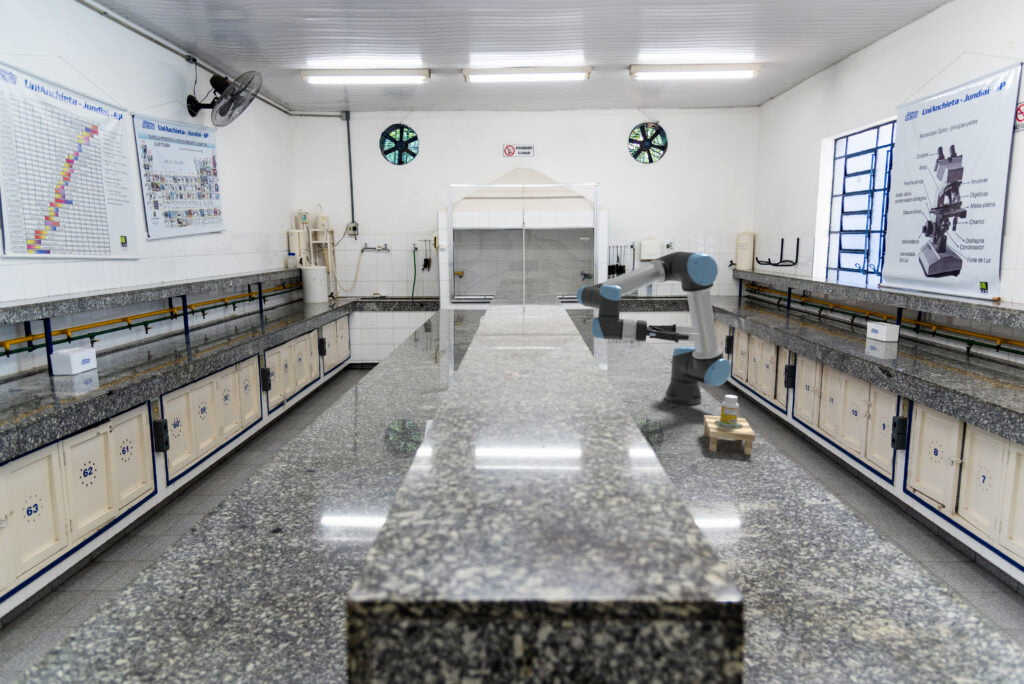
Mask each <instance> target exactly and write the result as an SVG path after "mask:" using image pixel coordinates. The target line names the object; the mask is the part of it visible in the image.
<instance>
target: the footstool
mask: <svg viewBox="0 0 1024 684" xmlns="http://www.w3.org/2000/svg"><path fill="white" fill-rule="evenodd" d="M720 419H721V415H710V414H709V415H708V414H707V415H706V414H703V423H704V426H703V427H704V429H703V436H704V437H707V438H709V446H708V451H709V452H717V445H718V438H719V439H729V440H738V441H744V444H743V445H744V446H743V453H744V455H745V454H746V455H747V456H752V450H753V443H754V442H756V434H755V432H754V431H753V429H752V427H751V426H750V424H749V422H748V421H747V419H746V418H741V417H738V419H737V425H736V426H726V425H723V424H721V423H720Z"/></svg>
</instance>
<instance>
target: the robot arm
mask: <svg viewBox="0 0 1024 684" xmlns="http://www.w3.org/2000/svg"><path fill="white" fill-rule="evenodd" d="M718 271H719V267H718V263H717V261H716V260H715V258H713V256H711V255H710V254H708V253H707V254H706V253H702V252H687V251H676V252H675V251H674V252H671V253H668V254H665V255H663V256H660V257H658V258H657V257H656V258H655V259H652V260H650V262H649V263H648V264H646V265H644V266H641V267H639V268H636V269H634V270H630V271H628V272H626V273H624V274H620V275H618V276H616V277H612V278H610V279H607V280H604V281H602V282H599V283H596V284H594V285H591V286H590V285H584V286H581V287H580V288H579V289H578V290H577V292H576V300H577V302H578V303H579V304H580V305H582V306H585V307H589V308H592V309H595V310H596V309H597V310H598V315H597V316H596V317H593V318H592V325H591V326H592V327H591V335H592V337H593V338H594V339H596V338H597V339H603V340H619V341H622V340H623V341H624V342H626V343H628V342H629V341H635V342H646V341H647V337H649V339H657V340H664V341H671V342H675V343H679V342H681V341H682V342H693V343H694V346H676V347H675V348H674V349H673V351H672V356H671V357H672V359H671V371H670V373H671V374H670V381H669V383H668V386H667V388H666V390H665V393H664V399H665V400H666V401H668V402H671V403H675V404H678V405H689V406H690V405H691V406H692V405H693V406H694V405H700V404H701V403H702V401H703V398H702V397H703V396H702V391H701V387H700V383H702V384H705V385H707V386H712V387H719V386H722V385H723V384H724V383H726V381H727V380H728V378H729V377H730V375H731V372H732V366H731V363H730V361H729V360H728V359H727V358H724V352H723V349H722V348H721V347H719V346H718V340H717V339H718V337H717V331H716V325H715V319H714V318H715V317H714V316H715V315H714V311H713V310H714V309H713V303H712V295H711V290H712V288H713V287H714V282H715V281H716V280H717V276H718V274H719V273H718ZM669 281H670V282H671V281H672V282H680V285H681V290H682V292H684V293H685V294H686V297H687V303H688V309H689V315H690V321H691V327H689V326H677V324H675V323H673V324H672V325H664V324H663V325H652V324H649V325H648V321H647V320H644V319H643V320H642V319H641V320H639V319H638V320H635V319H627V318H620V311H621V299H622V296H623V295H626V294H630V293H632V292H634V291H637V290H640V289H642V288H645V287H648V286H650V285H652V284H655V283H657V284H662V283H664V282H669Z"/></svg>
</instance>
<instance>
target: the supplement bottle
mask: <svg viewBox="0 0 1024 684" xmlns="http://www.w3.org/2000/svg"><path fill="white" fill-rule="evenodd" d="M739 407H740V404H739V403H738V396H737V395H735V394H726V395H724V401H722V402H721V412H720V416H721V419H720V423H721V424H723V425H726V426H736V425H737V419H738V418H739V417H738V416H739V409H740V408H739Z"/></svg>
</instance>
